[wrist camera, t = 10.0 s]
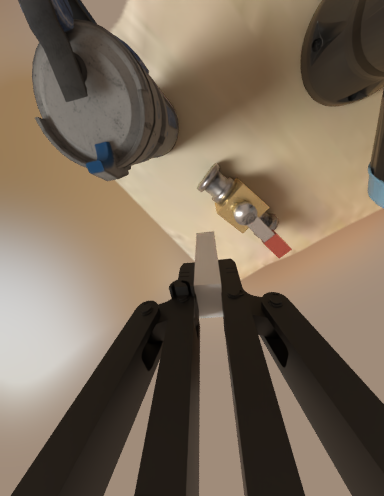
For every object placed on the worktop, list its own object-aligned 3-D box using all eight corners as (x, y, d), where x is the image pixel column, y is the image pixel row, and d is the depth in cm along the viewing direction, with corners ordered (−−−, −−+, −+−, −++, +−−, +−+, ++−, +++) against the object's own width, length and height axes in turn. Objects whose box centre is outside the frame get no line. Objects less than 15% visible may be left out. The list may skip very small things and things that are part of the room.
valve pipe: (195, 187, 39) (194, 196, 33) (216, 159, 36) (220, 163, 30) (252, 232, 44) (261, 248, 37) (274, 211, 41) (289, 225, 34)
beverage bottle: (168, 66, 29) (75, -153, 8) (185, 155, 36) (159, 172, 14) (112, 82, 30) (-103, -65, 9) (137, 165, 37) (49, 195, 15)
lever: (228, 212, 34) (230, 216, 32) (244, 196, 32) (247, 199, 30) (273, 254, 38) (276, 260, 36) (289, 242, 36) (294, 247, 34)
